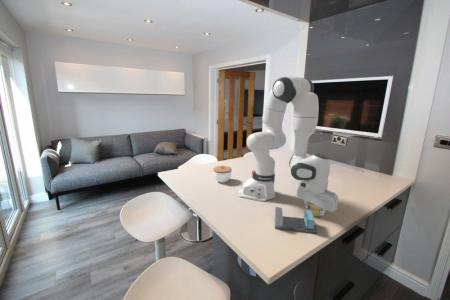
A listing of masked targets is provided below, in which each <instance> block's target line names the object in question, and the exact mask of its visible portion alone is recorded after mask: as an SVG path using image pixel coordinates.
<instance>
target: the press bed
mask: <svg viewBox="0 0 450 300" xmlns="http://www.w3.org/2000/svg"><path fill="white" fill-rule="evenodd" d="M274 228H275V229H276V230H285V231H292V232H300V233H301V232H302V233H311V234H316V235H317V234H318V228H317V227H316V224H315V222H314V229H307V228H306V225H305V221H304V217H303V218H302V217H295V216H293V217H292V216H284V214H283V207H278V206H275V208H274Z"/></svg>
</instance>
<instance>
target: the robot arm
mask: <svg viewBox="0 0 450 300" xmlns="http://www.w3.org/2000/svg"><path fill="white" fill-rule="evenodd" d="M314 85H315V84H314V83H313V81H312V80H311V79H309V78H308V77H307V78H306V77H301V76H291V77H289V76H288V77H287V76H282V77H279V78H277V79H276V80H275V81H274V82H273V84H272V88H271V89H270V91H269V94H268V96H267V97H266V102H265V105H264V109H263V113H262V123H263V124H264V125H265V127H266V129H265V131H258V132H254V133H251V134H249V135H248V136H247V138H246V147H247V148H248V149H249V151H251V152H252V153H253V156H254V159H255V169H252V171H251V177H250V178H248V179H247V180H245V181H244V182H243V184H242V186H241V187H239V189H238V192H237V193H238V194H237V195H238V196H239V197H240V198H244V199H249V200H254V201H259V202H266V201H268V200H272V199H275V197H276V192H275V181H276V173H275V168H276V161H275V159H274V158H273V157H271V156H270V151H272V150H278V149H280V148H282V147H284V146H285V145H286V143H287V137H286V134H285V133H284V132H283V121H284V117H285V114H286V110H287V106H288V104H289V103H291V104H292V106H293V114H292V129H293V133H294V147H293V154H292V155H291V157H290V159H289V163H288V165H289V168H290V169H289V170H290V175H291V177H292V178H293V179H295V180H297V181H299V183H298V185H299V186H298V187H297V191H296V196H297V198H299V199H300V200H303V202H304V205H305V210H309V205H310V204H311V205H317V206H319V207H320V208H321V209H322V210H321V212H320V217H321V216H322V217H324V216H325V214H326V213H327V211H328V212H330V213H334V212H335V211H337V210H338V201H339V195H337V194H336V192H333V191H331V190H328V186H329V176H330V173H331V161H330V159H329V157H328V156H326V155H324V154H321V153H313V154H312V155H311V156H307V151H308V143H309V139H310V137H311V136H312V135H313V134H314V133H315V132H316V129H317V126H318V123H319V112H320V111H319V97H318V95H317V93H314V90H315V86H314ZM309 203H310V204H309Z"/></svg>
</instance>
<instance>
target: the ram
mask: <svg viewBox="0 0 450 300" xmlns="http://www.w3.org/2000/svg"><path fill="white" fill-rule="evenodd" d="M303 218H304V221H305V225H306V228H307V229H314V223H315V221H316V220H315V217H313V214H312V211H311V210H309V209H304V213H303Z"/></svg>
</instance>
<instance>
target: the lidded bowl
mask: <svg viewBox="0 0 450 300" xmlns="http://www.w3.org/2000/svg"><path fill="white" fill-rule="evenodd" d="M232 170H233V169H232V167H231V166H227V165H217V166H214V167H213V177H214V179H215V180H216V181H217V182H218V183H220V184H223V183H228V181H229V180H230V179H231V176H232Z"/></svg>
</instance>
